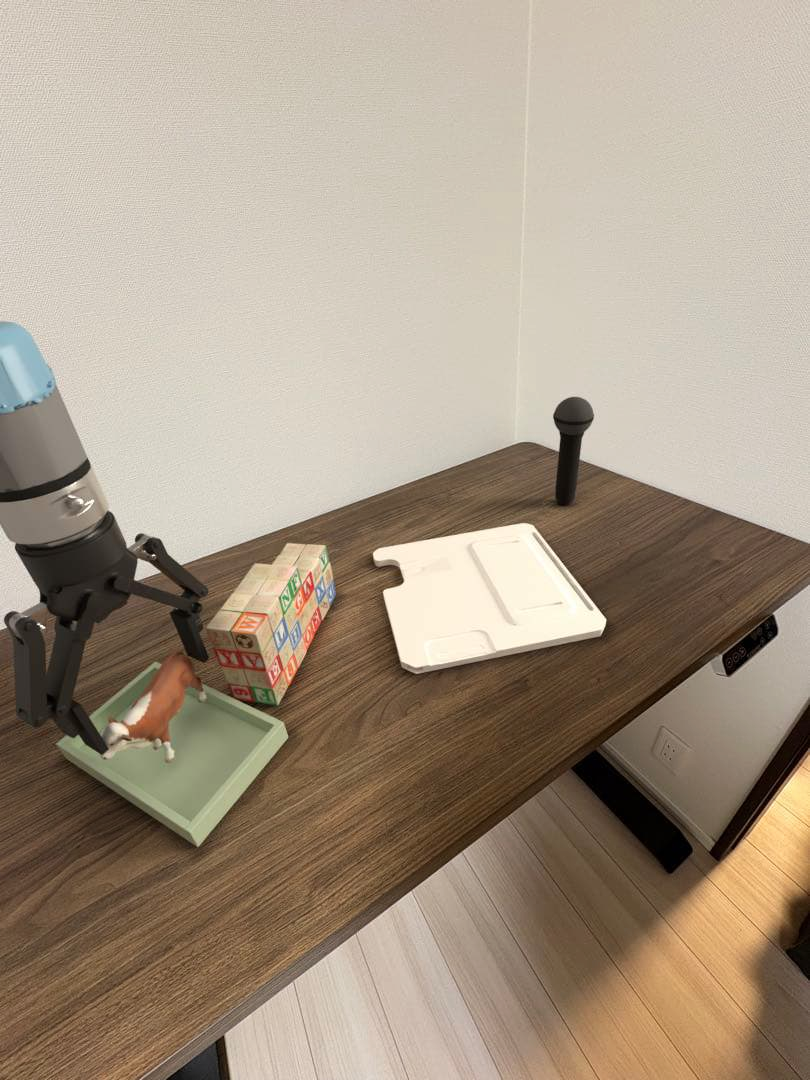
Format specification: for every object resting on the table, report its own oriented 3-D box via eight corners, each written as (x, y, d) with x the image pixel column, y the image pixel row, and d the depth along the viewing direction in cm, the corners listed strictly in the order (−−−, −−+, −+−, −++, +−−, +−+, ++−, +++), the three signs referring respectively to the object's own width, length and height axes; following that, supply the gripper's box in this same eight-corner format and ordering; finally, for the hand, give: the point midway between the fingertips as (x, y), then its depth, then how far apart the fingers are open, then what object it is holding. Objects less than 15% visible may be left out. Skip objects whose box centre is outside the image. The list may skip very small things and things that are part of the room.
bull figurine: (117, 788, 55) (80, 741, 50) (188, 684, 65) (163, 638, 60) (153, 795, 53) (118, 748, 49) (220, 688, 64) (196, 641, 59)
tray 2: (404, 676, 66) (403, 668, 66) (372, 553, 90) (371, 546, 89) (611, 633, 70) (612, 625, 69) (528, 526, 93) (529, 518, 92)
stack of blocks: (299, 591, 83) (283, 524, 76) (337, 594, 81) (324, 527, 74) (232, 700, 66) (203, 626, 59) (278, 707, 64) (254, 632, 57)
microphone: (540, 506, 98) (548, 401, 87) (554, 491, 103) (563, 389, 92) (575, 514, 95) (588, 407, 84) (588, 498, 99) (602, 394, 88)
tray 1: (65, 758, 60) (55, 743, 59) (162, 675, 70) (155, 661, 68) (198, 847, 51) (189, 832, 49) (288, 737, 60) (284, 722, 59)
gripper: (-84, 632, 33) (63, 816, 45) (205, 470, 51) (257, 634, 63) (-134, 601, 37) (15, 780, 49) (154, 458, 54) (212, 616, 66)
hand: (152, 698), depth 56 cm, fingers closed on bull figurine, 12 cm apart
